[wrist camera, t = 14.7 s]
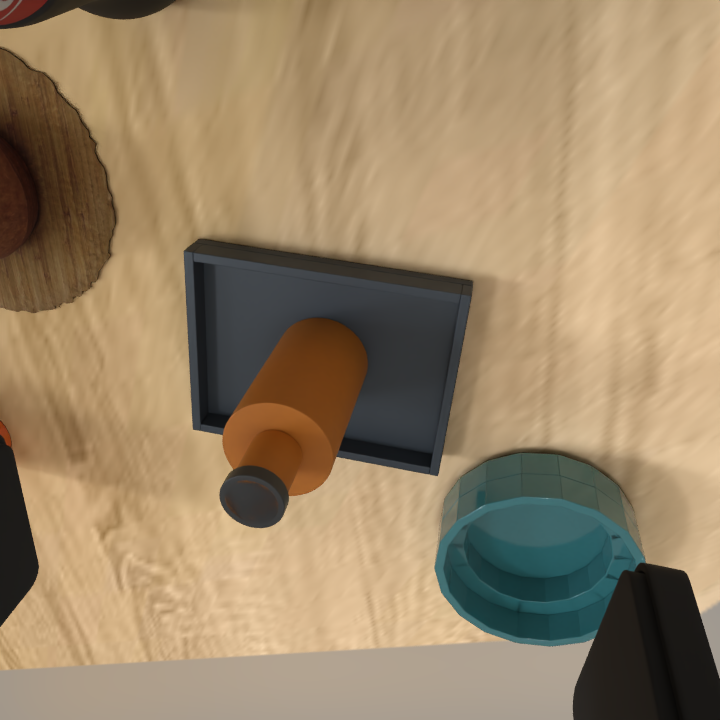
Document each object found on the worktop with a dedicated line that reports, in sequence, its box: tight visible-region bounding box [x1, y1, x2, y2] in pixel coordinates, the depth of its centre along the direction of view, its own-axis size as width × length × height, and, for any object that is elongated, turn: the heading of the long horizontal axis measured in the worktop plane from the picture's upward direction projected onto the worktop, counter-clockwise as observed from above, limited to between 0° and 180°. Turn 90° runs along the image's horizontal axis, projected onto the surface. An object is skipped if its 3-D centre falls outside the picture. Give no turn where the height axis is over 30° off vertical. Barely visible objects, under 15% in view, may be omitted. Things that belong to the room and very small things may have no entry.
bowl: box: [435, 453, 646, 646], centre depth 45 cm, size 13×13×5 cm
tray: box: [184, 239, 473, 476], centre depth 43 cm, size 17×13×2 cm
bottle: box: [220, 318, 368, 528], centre depth 37 cm, size 6×6×14 cm
